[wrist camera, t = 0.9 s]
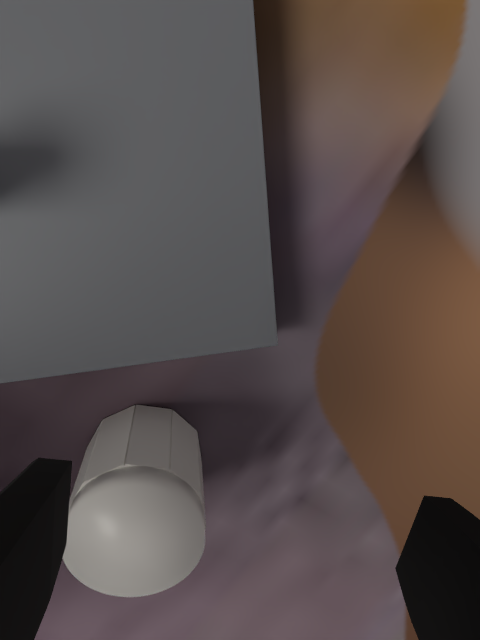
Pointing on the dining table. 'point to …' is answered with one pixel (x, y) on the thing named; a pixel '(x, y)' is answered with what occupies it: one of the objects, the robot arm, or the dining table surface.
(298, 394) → the dining table surface
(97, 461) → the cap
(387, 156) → the dining table surface
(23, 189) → the post board
